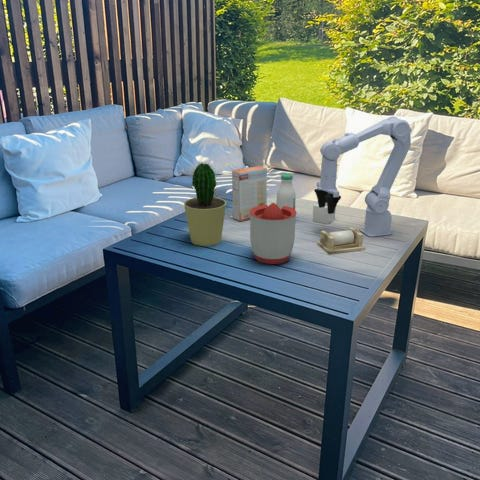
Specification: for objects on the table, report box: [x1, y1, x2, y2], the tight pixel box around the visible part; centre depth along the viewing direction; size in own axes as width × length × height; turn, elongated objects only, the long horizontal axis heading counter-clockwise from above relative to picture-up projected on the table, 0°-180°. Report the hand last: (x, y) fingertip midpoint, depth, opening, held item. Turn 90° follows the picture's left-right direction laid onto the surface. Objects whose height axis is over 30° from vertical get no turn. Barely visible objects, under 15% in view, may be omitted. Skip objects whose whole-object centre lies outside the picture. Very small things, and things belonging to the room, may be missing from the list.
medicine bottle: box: [312, 193, 337, 225], centre depth 209 cm, size 7×7×12 cm
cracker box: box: [231, 165, 268, 222], centre depth 211 cm, size 14×6×21 cm, turn 124°
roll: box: [328, 229, 354, 246], centre depth 183 cm, size 8×5×5 cm, turn 108°
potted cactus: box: [183, 162, 227, 247], centre depth 185 cm, size 15×15×30 cm
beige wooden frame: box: [316, 226, 366, 255], centre depth 183 cm, size 10×14×6 cm
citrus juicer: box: [249, 202, 297, 265], centre depth 172 cm, size 16×17×20 cm
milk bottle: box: [275, 173, 297, 210], centre depth 205 cm, size 8×8×20 cm
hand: (326, 210), depth 192 cm, fingers open, 7 cm apart
